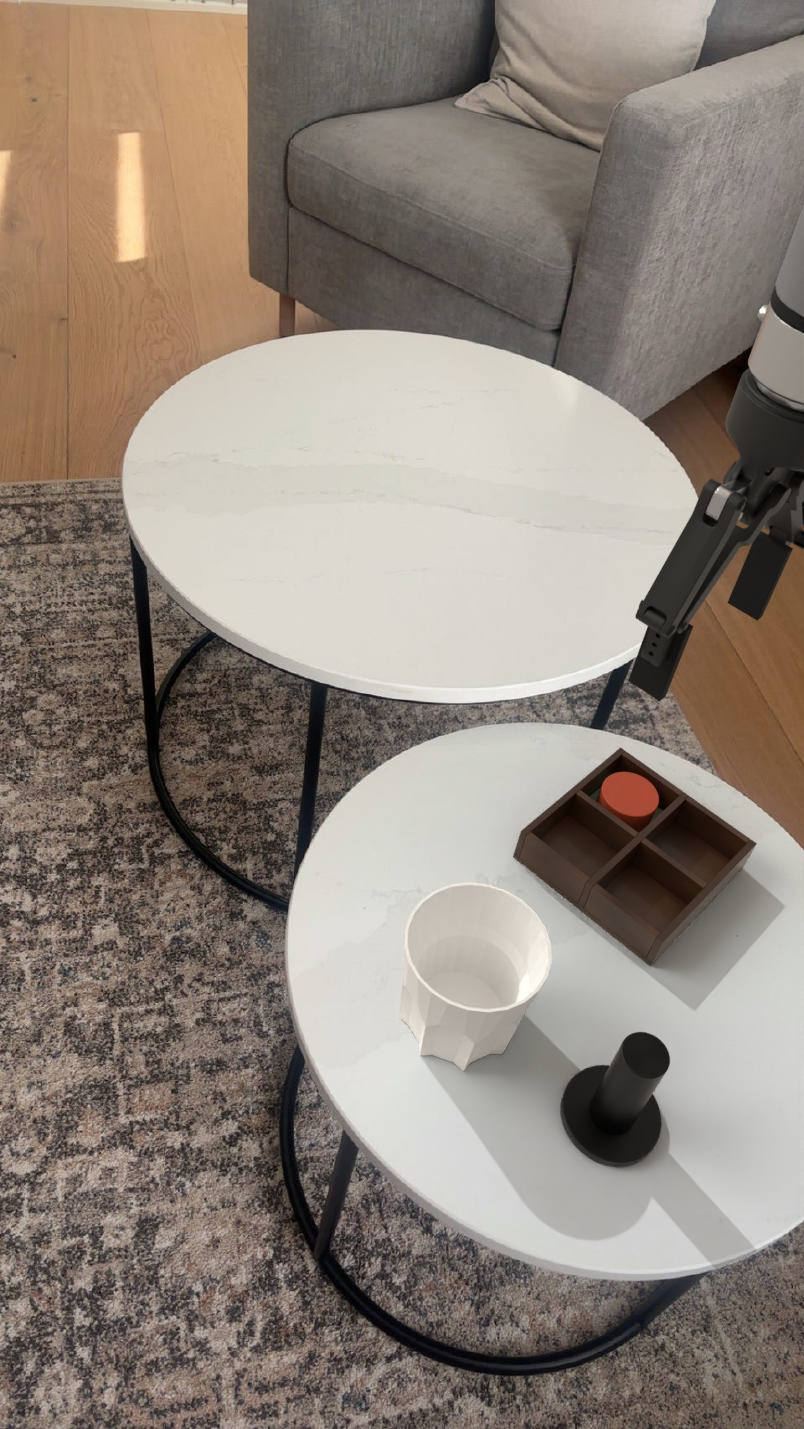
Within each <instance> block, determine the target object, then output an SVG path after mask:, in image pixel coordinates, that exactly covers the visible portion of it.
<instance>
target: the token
mask: <svg viewBox="0 0 804 1429" xmlns="http://www.w3.org/2000/svg"><path fill="white" fill-rule="evenodd" d="M596 802H597V803H599V804H600V805H601V806H603V807H604V808H605V809H607V810H608V811H609V812H611V813H612V814H613V815H615V816H616V817H618V818H619V819H620V820H622V821H623V822H624V823H626V824H627V825H628V826H630V827H631V828H632V829H634V830H635V831H636V832H640V831H642V830H643V829H645V828H646V827H647V826H648V825H649V824H650V822H651V820H652V818H653V816H654V814H655V811H656V809H657V807H658V804H659V796H658V792H657V790H656V788H655V787H654V786H653V785H652V783H651V782H649V781H648V780H647V779H645V778H644V777H642V776H640V775H638V774H635V773H630V772H617V773H614V774H612V775H610V776H608V777H607V778H606V779H605V780H604V782H603V784H602V787H601V790H600V792H599V795H598V797H597V800H596Z"/></svg>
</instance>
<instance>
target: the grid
mask: <svg viewBox="0 0 804 1429" xmlns="http://www.w3.org/2000/svg"><path fill="white" fill-rule="evenodd" d="M617 772H630V773H635V774H638V775H640V776H642V777H644V778H645V779H647V780H648V781H649V782H651V783H652V785H653V786H654V787H655V788H656V790H657V792H658V796H659V804H658V807H657V809H656V811H655V814H654V816H653V818H652V820H651V822H650V824H649V825H648V826H647V827H646V828H645V829H643V830H642V831H640V832H636V831H635V830H634V829H632V828H631V827H630V826H628V825H627V824H626V823H624V822H623V821H622V820H620V819H619V818H618V817H616V816H615V815H613V814H612V813H611V812H609V811H608V810H607V809H605V808H604V807H603V806H601V805H600V804H599V803H597V802H596V800H597V797H598V795H599V792H600V790H601V787H602V784H603V782H604V780H605V779H606V778H607V777H608V776H610V775H612V774H614V773H617ZM757 844H758V843H757V842H756V841H755V840H753V839H751V838H750V837H748V836H747V835H745V834H744V833H743V832H741V831H740V830H739V829H737V828H736V827H734V826H733V825H731V824H730V823H729V822H727V821H726V820H724V819H722V818H721V817H720V816H719V815H717V814H716V813H714V812H713V811H712V810H710V809H708V808H707V807H706V806H704V805H703V804H702V803H700V802H699V801H698V800H696V799H694V798H693V797H692V796H691V795H689V794H687V793H686V792H684V791H683V790H682V789H680V788H679V787H678V786H676V785H675V784H673V783H672V782H671V781H669V780H668V779H666V778H665V777H664V776H662V775H661V774H659V773H658V772H656V771H655V770H654V769H652V768H651V767H649V766H648V765H646V764H645V763H644V762H642V760H641V761H640V760H639V759H638V758H636V757H635V756H634V755H632V754H630V753H629V752H628V751H626V750H625V749H624V748H622V747H619V748H618V749H616V751H614V752H613V753H612V754H610V755H609V756H608V757H607V758H605V760H603V761H602V762H601V763H600V764H599V765H598V766H596V767H595V768H594V769H593V770H592V771H591V772H589V773H588V774H587V775H586V776H585V777H583V778H582V779H580V781H578V782H577V783H576V784H575V785H574V786H572V788H570V789H569V790H568V791H566V793H564V794H563V795H562V796H561V797H559V798H558V799H557V800H556V801H555V802H554V803H553V804H551V805H550V806H548V808H546V809H545V810H544V811H543V812H542V813H541V814H539V815H538V816H537V817H535V818H534V819H533V820H532V821H531V822H530V823H528V824H527V825H526V826H524V828H522V829H521V830H520V831H519V836H518V839H517V842H516V846H515V849H514V852H513V855H512V857H513V858H514V859H516V860H517V862H519V863H520V864H522V865H523V866H524V867H525V868H527V870H529V871H530V872H532V873H533V874H534V875H535V876H537V877H538V878H539V879H540V880H542V881H543V882H544V883H545V884H547V885H548V886H549V887H550V888H552V889H553V890H554V891H556V892H557V893H558V894H559V895H560V896H561V897H563V898H564V899H565V900H566V901H568V902H569V903H571V904H572V905H573V906H574V907H575V908H576V909H578V910H579V911H581V912H582V913H583V914H584V915H585V916H586V917H588V918H589V919H591V920H592V921H593V922H594V923H595V924H596V925H598V926H599V927H600V928H602V929H603V930H604V931H606V932H607V933H608V934H609V935H610V936H612V937H613V938H614V939H615V940H617V941H618V942H619V943H620V944H622V945H623V946H624V947H625V948H627V949H628V950H629V951H631V952H632V954H634V955H636V956H637V957H638V958H639V959H640V960H642V961H643V963H645V964H647V965H648V966H649V967H651V966H652V965H653V964H654V963H656V961H657V960H658V959H659V958H660V957H661V956H662V955H663V954H664V953H665V952H666V950H668V949H669V947H671V945H672V944H673V943H674V942H676V940H677V939H678V938H679V937H680V936H681V935H682V934H683V933H684V931H686V929H687V928H688V927H689V926H690V925H691V924H692V923H693V922H694V921H695V920H696V919H697V918H698V917H699V916H700V915H701V913H703V911H704V910H705V909H706V908H707V907H708V906H709V905H710V904H711V903H712V902H713V901H714V900H715V898H716V897H717V896H718V895H719V894H721V892H722V891H724V889H725V888H726V887H727V886H728V885H729V884H730V883H731V882H732V880H734V878H735V877H736V876H737V875H738V874H739V873H740V872H741V871H742V870H743V869H744V868H745V866H746V864H747V862H748V860H749V858H750V857H751V855H752V853H753V852H754V850H755V848H756V846H757Z"/></svg>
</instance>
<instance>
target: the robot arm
mask: <svg viewBox="0 0 804 1429" xmlns="http://www.w3.org/2000/svg"><path fill="white" fill-rule="evenodd" d="M774 284H775V285H774V287H773V290H772V292H771V295H770V298H769V301H768V304H763V306H761V308H760V309H759V310H758V312H757V318H758V320H759V321H761V324H760V326H759V329H758V332H757V335H756V337H755V340H754V343H753V345H752V347H751V351H750V354H749V357H748V360H747V365H748V368H747V369H746V370H744V372H743V373H742V374H741V377H740V379H739V382H738V384H737V387H736V390H735V392H734V396H733V398H732V401H731V404H730V406H729V409H728V412H727V415H726V418H725V428H726V432H727V434H728V436H729V438H730V440H732V442H733V443H734V445H735V447H736V449H737V451H738V454H739V458H738V459H737V460H735V461H734V462H732V464H731V465H730V466H729V468H728V469H727V471H726V473H725V474H724V476H723V478H722V483H721V482H719V481H717V480H715V479H714V478H709V479H708V480H707V482H705V483H704V484H703V487H702V490H701V491H700V494H699V497H698V499H697V501H696V504H695V506H694V509H693V511H692V513H691V515H690V517H689V519H688V520H687V523H686V524H685V526H684V527H683V529H682V531H681V533H680V535H679V536H678V538H677V540H676V541H675V544H674V546H673V547H672V549H671V551H670V553H669V554H668V556H667V557H666V560H665V561H664V562H663V565H662V567H661V569H660V570H659V571H658V574H657V575H656V577H655V579H654V581H653V583H652V584H651V586H650V588H649V590H648V592H647V593H646V595H645V597H644V599H641V600H640V602H639V604H638V608H637V611H636V613H635V619H636V620H638V621H639V622H641V623H642V624H643V625H645V626H647V627H646V629H645V633H644V635H643V639H642V641H641V644H640V647H639V649H638V652H637V655H636V658H635V660H634V663H633V666H632V669H631V672H630V675H629V677H628V680H627V681H628V682H629V683H631V684H632V685H634V686H635V687H637V688H638V689H640V690H641V691H642V692H644V693H646V694H647V695H649V696H650V697H652V698H653V699H655V700H656V701H658V702H661V701H662V700H663V699H665V698H666V696H667V693H668V691H669V689H670V687H671V684H672V681H673V679H674V676H675V675H676V671H677V669H678V666H679V664H680V661H681V659H682V656H683V654H684V651H685V649H686V646H687V644H688V642H689V639H690V636H691V635H692V634H691V633H692V631H693V629H694V625H692V624H690V622H691V621H692V620H693V618H694V616H696V614H697V612H698V611H699V609H700V608H701V606H702V605H703V603H704V601H705V600H706V599H707V597H708V596H709V594H710V593H711V592H712V590H713V589H714V587H715V585H716V584H717V583H718V581H719V580H720V578H721V576H722V575H723V573H725V571H726V569H727V568H728V567H729V565H730V564H731V562H732V560H733V559H734V558H735V556H736V555H737V553H738V551H739V550H740V549H741V548H742V547H748V546H750V548H749V550H748V553H747V554H746V558H745V559H744V562H743V565H742V567H741V569H740V572H739V573H738V577H737V578H736V581H735V584H734V586H733V589H732V591H731V593H730V596H729V597H728V601H727V604H729V605H730V606H732V607H733V608H735V609H737V610H738V611H740V612H742V613H744V614H745V615H747V616H749V617H750V618H752V619H753V620H755V621H759V620H760V619H761V618H762V617H763V616H764V614H765V611H766V610H767V607H768V605H769V603H770V600H771V598H772V596H773V593H774V591H775V589H776V587H777V585H778V583H779V580H780V578H781V576H782V574H783V573H784V572H783V571H784V569H785V567H786V565H787V563H788V561H789V559H790V556H791V555H792V552H793V550H794V548H793V547H792V546H790V545H791V544H792V545H794V546H796V547H797V548H799V549H801V550H804V204H803V205H802V208H801V211H800V214H799V217H798V220H797V222H796V225H795V229H794V231H793V234H792V237H791V239H790V241H789V244H788V247H787V250H786V253H785V255H784V258H783V262H782V264H781V267H780V270H779V272H778V275H777V278H776V280H775V283H774ZM738 522H739V523H741V524H743V525H744V526H747V527H744V528H743V527H741V526H739V525H738V524H737V523H738ZM763 528H764V529H765V530H767V531H769V533H766V532H764V531H762V530H763Z"/></svg>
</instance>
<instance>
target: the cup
mask: <svg viewBox="0 0 804 1429" xmlns="http://www.w3.org/2000/svg"><path fill="white" fill-rule="evenodd" d="M403 941H404V945H403V947H404V948H403V960H402V961H403V962H402V963H403V964H402V980H401V981H402V984H401V993H400V1003H399V1004H400V1005H399V1017H398V1018H399V1019H401V1021H403V1022H404V1023H406V1024H407V1025H408V1026H409V1028H410V1029H411V1032H412V1033H413V1035H414V1038H415V1039H416V1041H417V1043H418V1047H419V1056H420V1057H422V1056H434V1057H437V1058H439V1059H441V1060H445V1061H447V1062H450V1063H453V1064H455V1066H457V1067H458V1068H459V1069H460V1070H461V1071H462V1072H464V1071H465V1070H466V1069H467V1068H468V1067H469V1065H470V1064H471V1063H473V1062H475V1061H478V1060H479V1059H483V1058H485V1057H487V1056H489V1055H504V1052H505V1050H506V1049H507V1047H508V1045H509V1043H510V1041H511V1039H512V1038H513V1036H514V1034H515V1032H516V1031H517V1029H518V1027H519V1025H520V1023H521V1022H522V1020H523V1018H524V1016H525V1015H526V1013H527V1012H528V1010H529V1008H530V1006H531V1004H532V1003H533V1001H534V1000H535V998H536V997H537V995H538V993H539V991H540V990H541V988H542V987H543V986H544V983H545V982H546V980H547V979H548V977H549V974H550V969H551V967H552V961H553V954H552V953H553V952H552V942H551V940H550V937H549V934H548V931H547V927H546V926H545V924H544V923H543V922H542V920H541V919H540V917H539V915H538V914H537V912H536V911H535V910H534V909H532V907H530V906H529V904H527V903H526V902H525V901H524V900H523V899H521V898H520V897H518V896H516V895H514V894H513V893H511V892H509V891H508V890H506V889H503V888H500V887H497V886H494V885H491V884H488V883H480V882H470V881H469V882H460V883H452V884H448V885H446V886H443V887H440V888H438V889H437V888H436V889H435V890H433V891H432V892H430V893H429V894H428V895H426V896H425V897H423V898H422V899H421V900H419V902H418V904H416V906H415V907H414V908H413V910H412V911H411V912H410V915H409V917H408V920H407V922H406V925H405V928H404V940H403Z"/></svg>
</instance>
